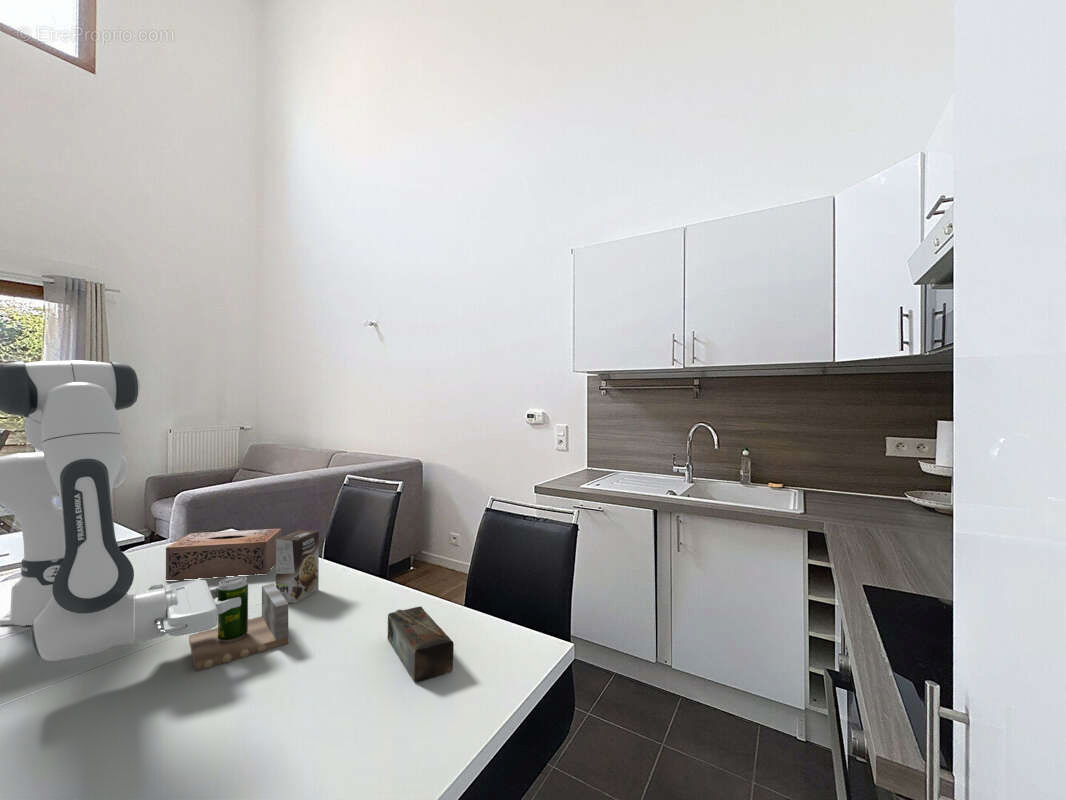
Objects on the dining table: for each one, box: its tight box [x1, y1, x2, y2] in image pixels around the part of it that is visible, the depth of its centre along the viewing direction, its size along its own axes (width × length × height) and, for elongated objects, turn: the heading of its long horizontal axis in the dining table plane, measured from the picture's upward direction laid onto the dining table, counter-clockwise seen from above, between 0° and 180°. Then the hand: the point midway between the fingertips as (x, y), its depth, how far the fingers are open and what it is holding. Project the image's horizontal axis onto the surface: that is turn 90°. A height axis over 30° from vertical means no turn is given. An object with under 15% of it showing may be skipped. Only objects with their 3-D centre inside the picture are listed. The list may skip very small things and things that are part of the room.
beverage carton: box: [387, 606, 455, 683], centre depth 96 cm, size 8×19×7 cm, turn 32°
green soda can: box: [217, 576, 249, 643], centre depth 99 cm, size 5×5×12 cm
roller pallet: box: [188, 583, 289, 672], centre depth 100 cm, size 15×16×8 cm
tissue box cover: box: [165, 528, 282, 581], centre depth 142 cm, size 26×14×10 cm, turn 103°
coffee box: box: [275, 529, 320, 604], centre depth 124 cm, size 9×6×16 cm
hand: (237, 595), depth 100 cm, fingers closed on green soda can, 5 cm apart
